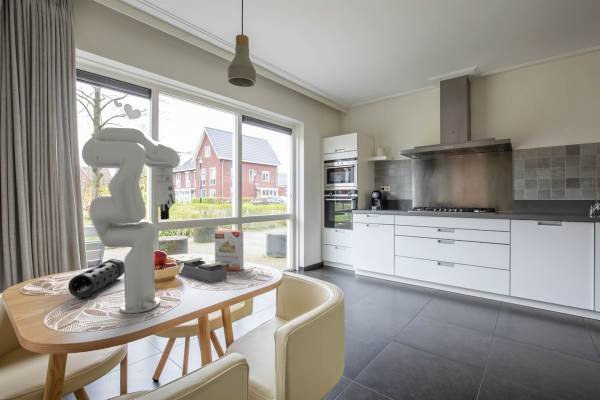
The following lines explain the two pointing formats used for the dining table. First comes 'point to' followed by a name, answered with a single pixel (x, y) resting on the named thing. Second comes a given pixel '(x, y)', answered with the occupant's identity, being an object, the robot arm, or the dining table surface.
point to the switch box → (203, 271)
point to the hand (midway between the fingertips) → (164, 219)
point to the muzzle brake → (96, 278)
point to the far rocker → (193, 260)
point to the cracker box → (229, 249)
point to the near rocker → (210, 264)
